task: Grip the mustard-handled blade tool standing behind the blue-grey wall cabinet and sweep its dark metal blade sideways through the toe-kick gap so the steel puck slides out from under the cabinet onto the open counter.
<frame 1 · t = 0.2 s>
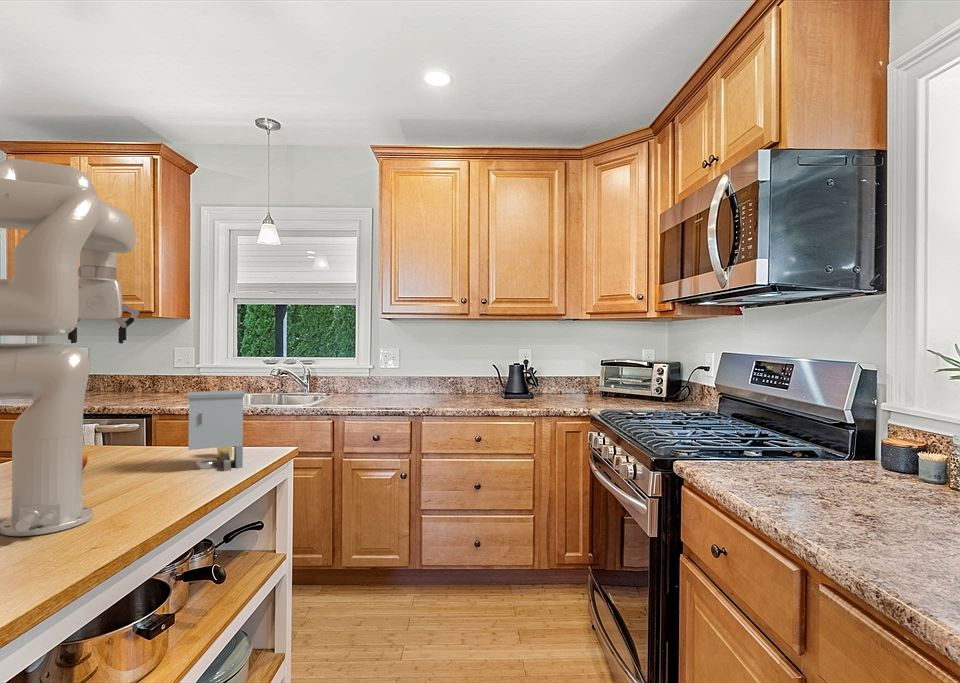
hand: (97, 343, 131), 31 cm above the counter, tool pointing down, fingers open, 9 cm apart
fruit: (65, 477, 121), on the counter
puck: (206, 468, 131), on the counter
cabinet: (215, 466, 132), on the counter
blade tool: (224, 456, 143), on the counter
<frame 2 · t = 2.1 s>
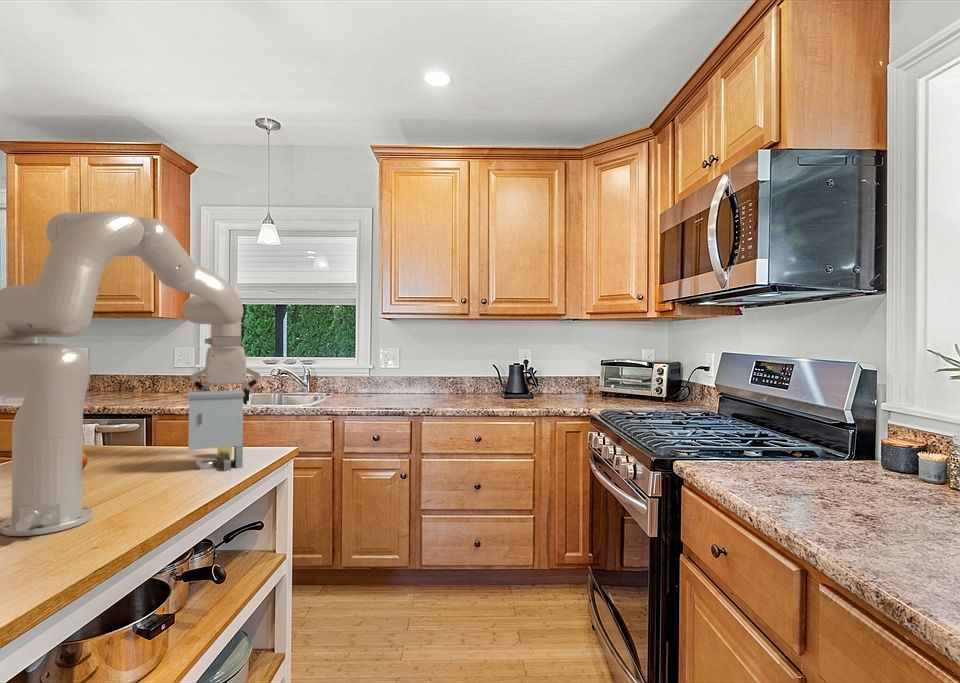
hand: (225, 404, 143), 14 cm above the counter, tool pointing down, fingers open, 9 cm apart
nothing on the counter moved.
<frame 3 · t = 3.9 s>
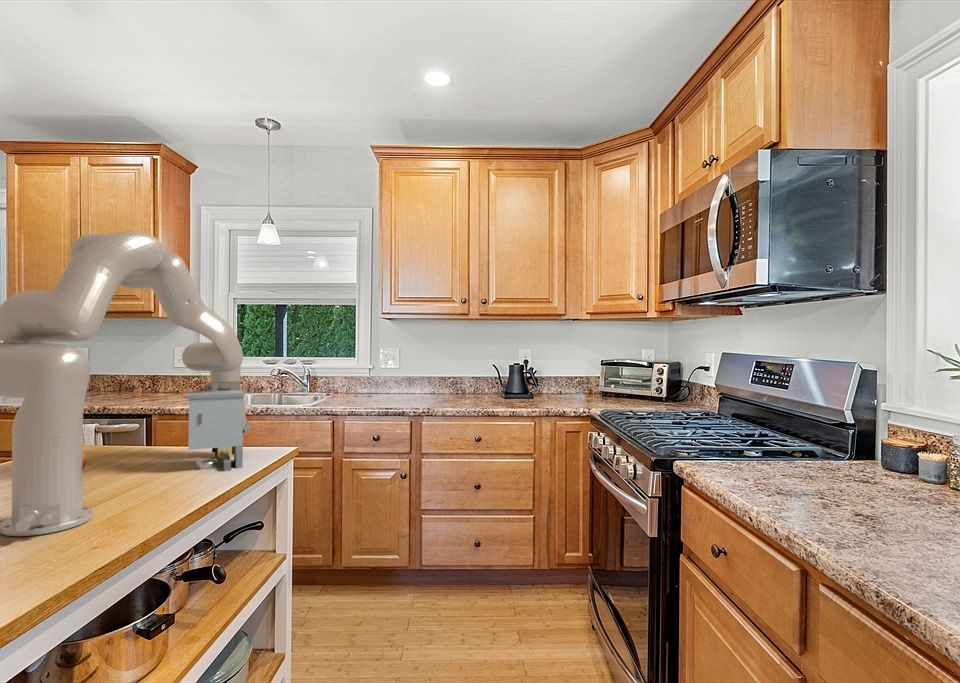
hand: (224, 453, 143), 1 cm above the counter, tool pointing down, fingers closed on blade tool, 3 cm apart
blade tool: (224, 456, 143), on the counter, touching gripper
everything else where it was.
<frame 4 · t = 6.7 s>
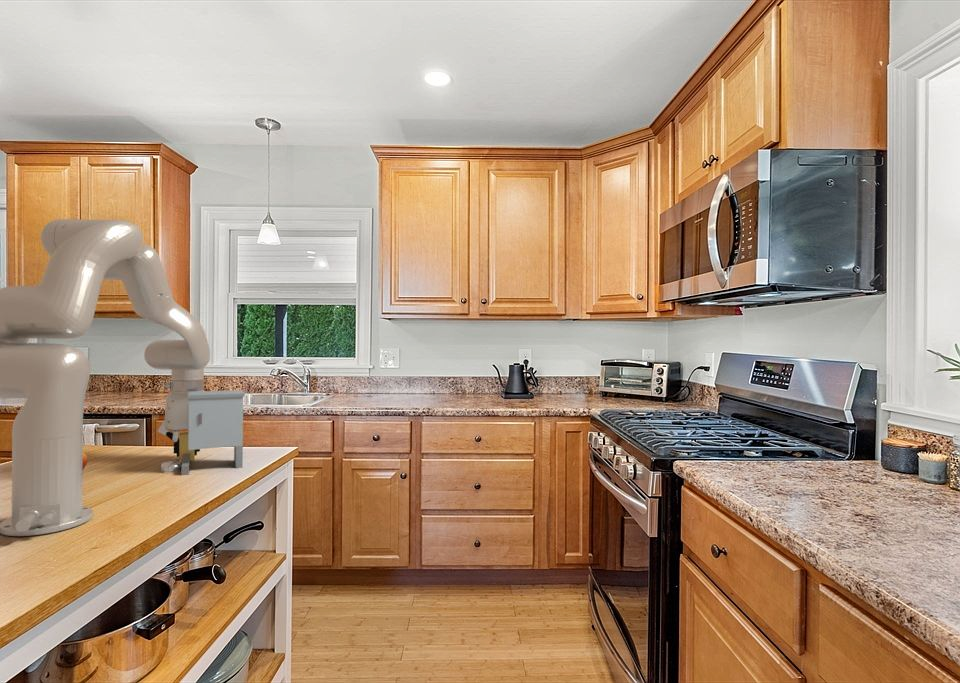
hand: (186, 454, 139), 1 cm above the counter, tool pointing down, fingers closed on blade tool, 3 cm apart
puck: (171, 471, 128), on the counter, touching blade tool
blade tool: (187, 459, 139), on the counter, touching gripper, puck
everything else where it was.
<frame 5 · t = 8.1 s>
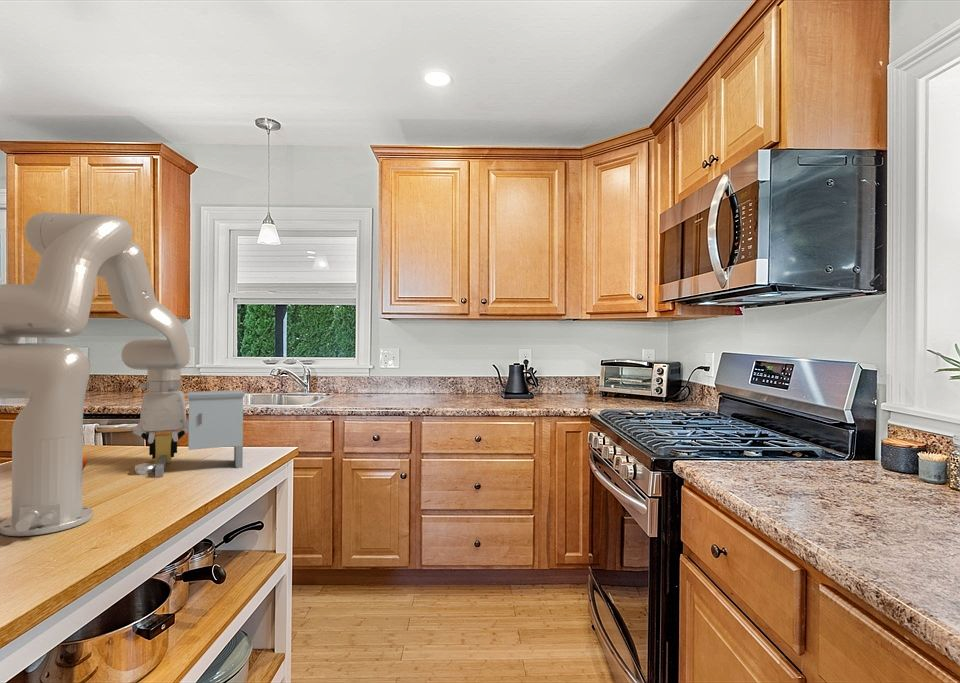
hand: (163, 456, 136), 1 cm above the counter, tool pointing down, fingers closed on blade tool, 3 cm apart
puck: (146, 473, 125), on the counter
blade tool: (163, 461, 136), on the counter, touching gripper
everything else where it was.
when the fingers open (1 cm above the counter, at t = 9.2 s): blade tool stays where it is, on the counter.
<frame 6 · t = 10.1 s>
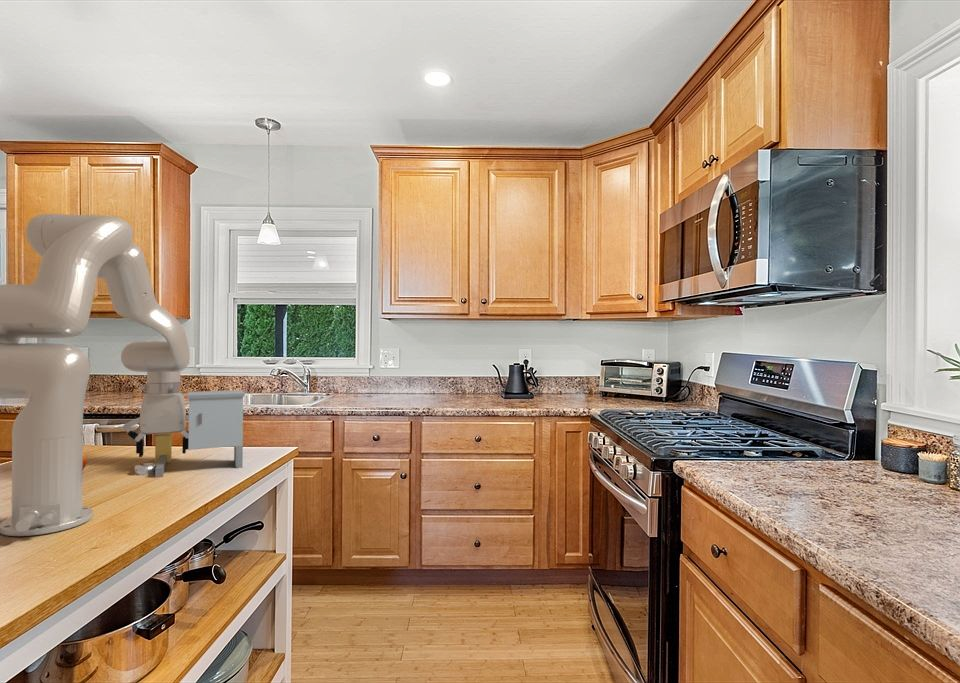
hand: (163, 454, 136), 2 cm above the counter, tool pointing down, fingers open, 9 cm apart
blade tool: (163, 461, 136), on the counter
everything else where it was.
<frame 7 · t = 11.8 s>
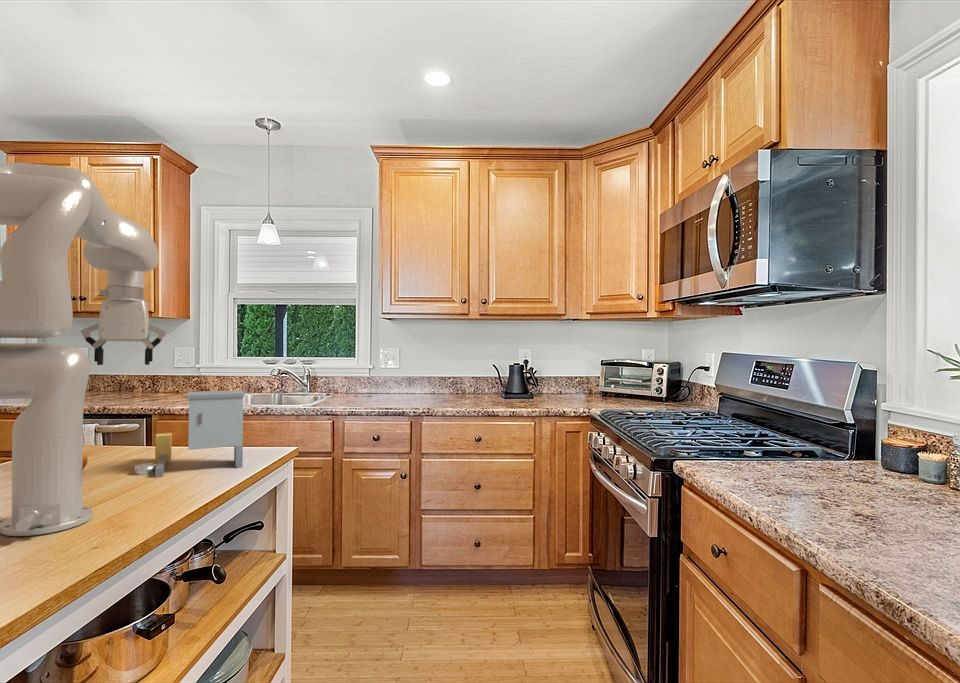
hand: (124, 364, 127), 26 cm above the counter, tool pointing down, fingers open, 9 cm apart
nothing on the counter moved.
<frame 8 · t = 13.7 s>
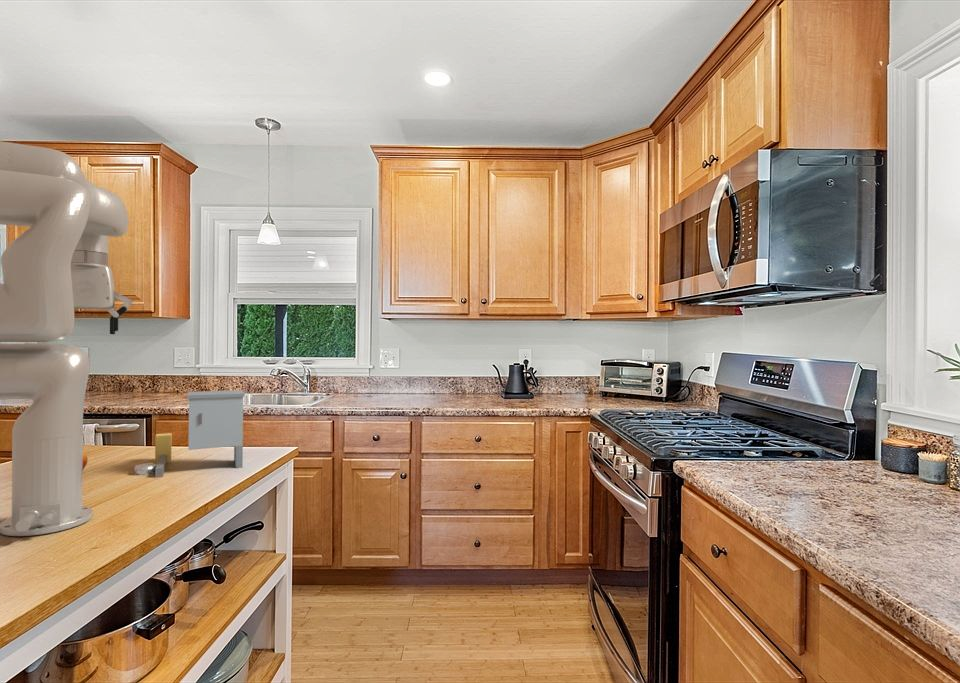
hand: (87, 333, 121), 33 cm above the counter, tool pointing down, fingers open, 9 cm apart
nothing on the counter moved.
at the end: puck inside the target area (5.6 cm from its centre), on the counter; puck moved 13.0 cm from its start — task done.
